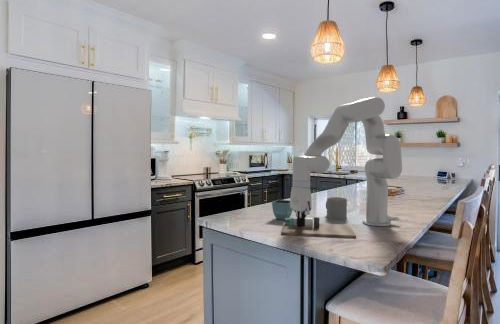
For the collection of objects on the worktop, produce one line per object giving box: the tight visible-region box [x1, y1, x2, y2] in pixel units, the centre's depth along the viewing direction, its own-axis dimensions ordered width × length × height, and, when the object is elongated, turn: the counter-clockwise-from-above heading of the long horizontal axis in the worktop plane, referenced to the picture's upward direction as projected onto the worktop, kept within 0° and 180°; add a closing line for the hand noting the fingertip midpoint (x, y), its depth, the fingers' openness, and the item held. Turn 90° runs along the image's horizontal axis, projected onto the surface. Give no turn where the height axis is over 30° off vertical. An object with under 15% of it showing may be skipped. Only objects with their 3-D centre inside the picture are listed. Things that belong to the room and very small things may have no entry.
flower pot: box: [271, 199, 293, 221], centre depth 161 cm, size 9×9×9 cm
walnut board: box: [280, 216, 357, 239], centre depth 138 cm, size 30×18×5 cm, turn 81°
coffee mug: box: [325, 196, 348, 221], centre depth 166 cm, size 13×10×10 cm
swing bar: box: [289, 216, 314, 227], centre depth 141 cm, size 10×2×4 cm, turn 83°
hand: (300, 226), depth 137 cm, fingers closed
